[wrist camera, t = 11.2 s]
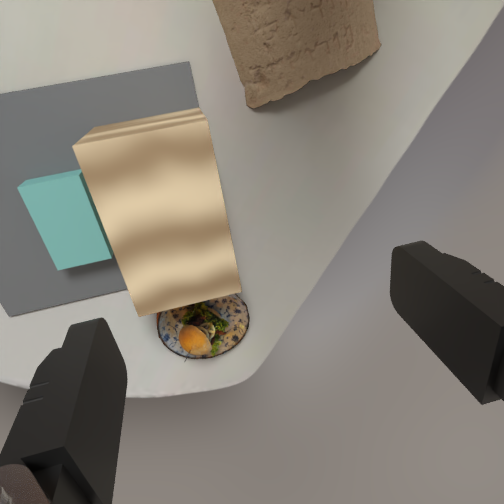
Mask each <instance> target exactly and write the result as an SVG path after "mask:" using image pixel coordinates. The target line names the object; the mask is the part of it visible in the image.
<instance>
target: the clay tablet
mask: <svg viewBox="0 0 504 504" xmlns="http://www.w3.org/2000/svg"><path fill="white" fill-rule="evenodd" d="M213 3H214V6H215V8H216V11H217V14H218V16H219V19H220V22H221V25H222V27H223V30H224V32H225V35H226V38H227V42H228V45H229V47H230V51H231V54H232V56H233V59H234V62H235V66H236V68H237V71H238V73H239V77H240V81H241V82H242V84H243V86H244V87H245V97H246V103H247V106H249V107H251V108H256V107H260V106H262V105H263V104H267V103H268V102H269V101H270V100H272V101H275V100H280V99H282V98H283V96H284V95H287V94H291V93H293V92H295V91H297V90H299V89H300V88H302V87H303V86H304V85H305V84H307V83H308V82H309V81H310V80H312V79H313V80H319V79H320V78H321V77H323V76H325V75H327V74H333V73H336V72H337V71H339V70H340V69H347V68H348V67H349V66H354V65H356V64H357V63H360V62H361V61H362V60H364V59H366V57H367V56H368V55H370V56H372V54H373V52H376V49H377V50H379V47H380V46H381V43H380V41H379V38H378V30H377V25H376V20H375V13H374V5H373V0H213Z"/></svg>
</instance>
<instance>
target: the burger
mask: <svg viewBox="0 0 504 504" xmlns="http://www.w3.org/2000/svg"><path fill="white" fill-rule="evenodd" d="M248 327H249V313H248V309H247V305H246V304H245V302H244V301H242V300H241V299H240V298H239V297H238V296H237V295H236V294H230V295H226V296H222V297H218V298H214V299H210V300H206V301H202V302H198V303H194V304H190V305H186V306H182V307H177V308H173V309H169V310H165V311H161V312H157V330H158V334H159V338H160V339H161V341H162V342H163V344H164V345H165V346H166V347H167V348H168V349H169V350H171V351H172V352H174V353H176V354H178V355H180V356H183V357H186V359H187V358H191V359H206V358H212V357H215V356H218V355H221V354H224V353H226V352H227V351H229V350H231V349H232V348H234V347H235V346H236V345H237V344H238V343H239V342H240V341H241V340H242V339H243V337H244V336H245V333H246V331H247V329H248ZM185 361H186V360H185ZM184 363H185V362H184Z"/></svg>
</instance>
